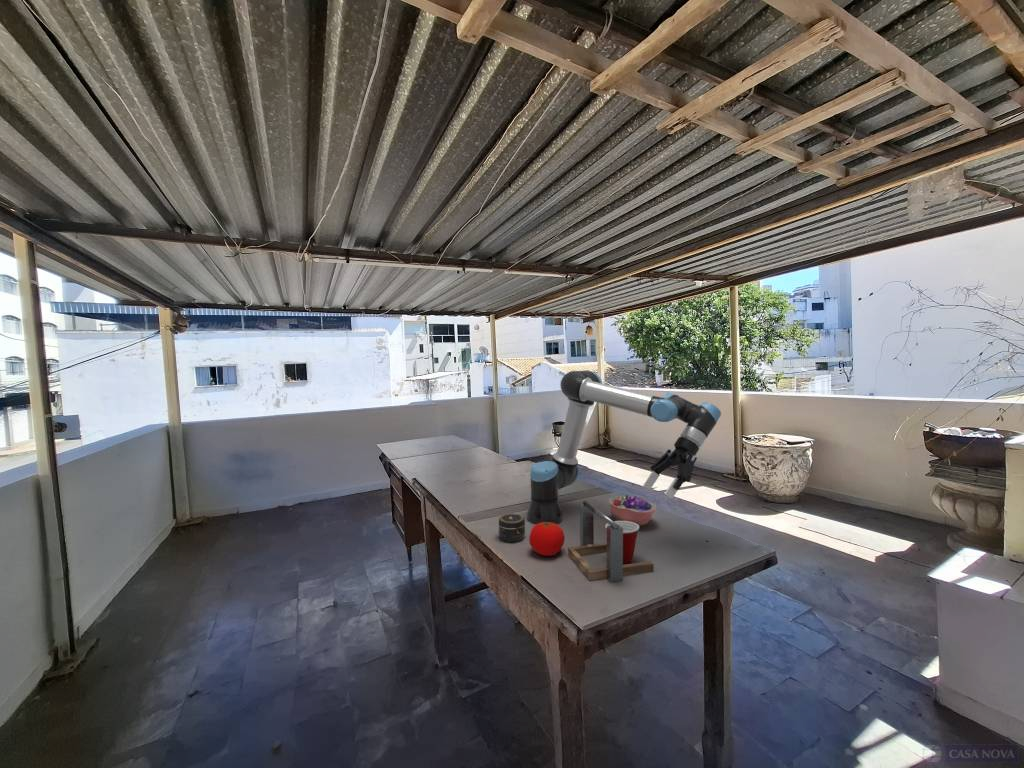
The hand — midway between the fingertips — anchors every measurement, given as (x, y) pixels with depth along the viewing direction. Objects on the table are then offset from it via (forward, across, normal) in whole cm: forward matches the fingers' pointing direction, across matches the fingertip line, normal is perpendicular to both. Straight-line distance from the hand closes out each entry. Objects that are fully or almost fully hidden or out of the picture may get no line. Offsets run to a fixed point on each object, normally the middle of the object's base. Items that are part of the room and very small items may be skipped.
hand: (656, 492), depth 132 cm
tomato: (+39, +10, +15) cm, 43 cm away
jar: (+44, +25, +23) cm, 56 cm away
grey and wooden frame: (+28, -1, +1) cm, 28 cm away
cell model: (+12, +28, -16) cm, 34 cm away
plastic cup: (+25, -1, -3) cm, 26 cm away
